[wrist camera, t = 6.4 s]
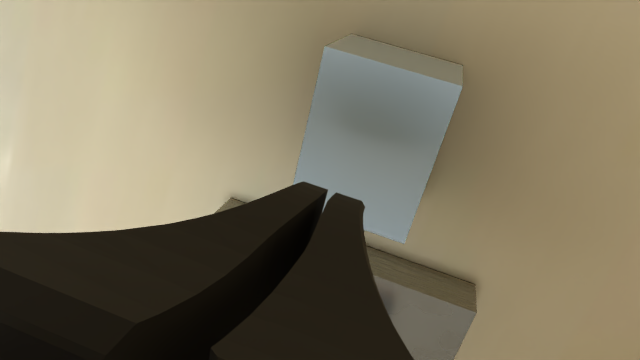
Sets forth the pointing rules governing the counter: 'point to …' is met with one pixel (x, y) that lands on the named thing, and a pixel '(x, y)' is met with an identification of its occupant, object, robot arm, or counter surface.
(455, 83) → the cap
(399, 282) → the panel
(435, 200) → the counter surface
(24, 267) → the robot arm
